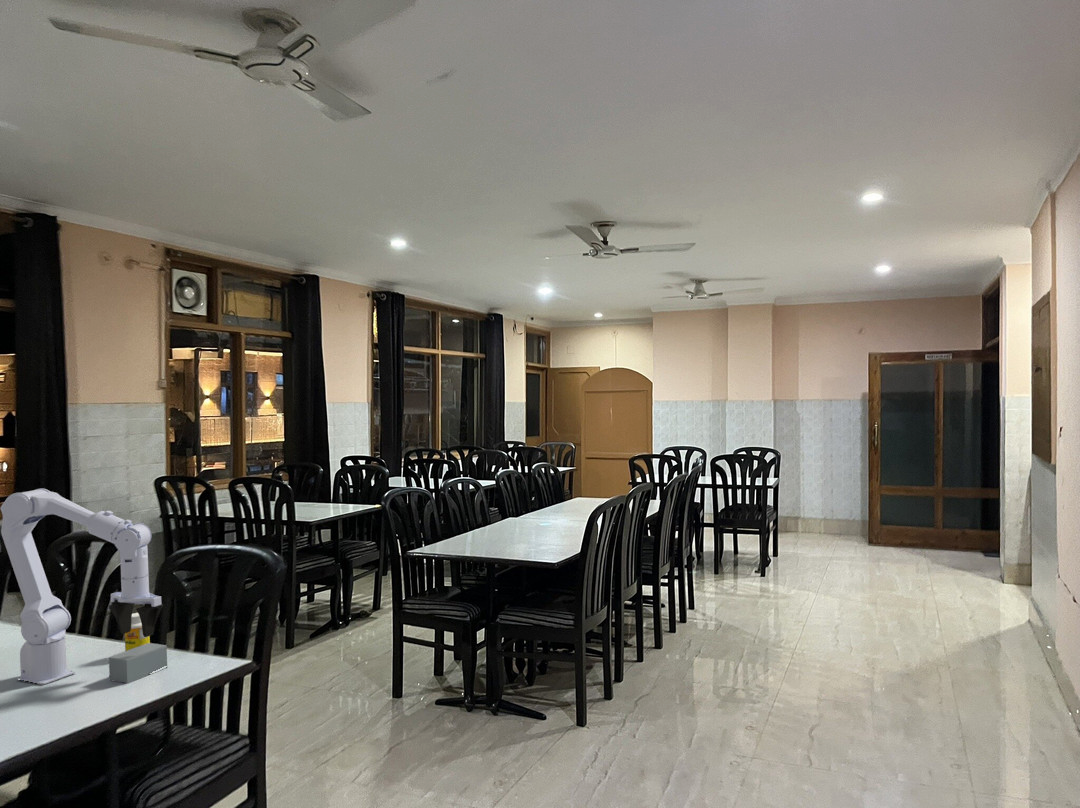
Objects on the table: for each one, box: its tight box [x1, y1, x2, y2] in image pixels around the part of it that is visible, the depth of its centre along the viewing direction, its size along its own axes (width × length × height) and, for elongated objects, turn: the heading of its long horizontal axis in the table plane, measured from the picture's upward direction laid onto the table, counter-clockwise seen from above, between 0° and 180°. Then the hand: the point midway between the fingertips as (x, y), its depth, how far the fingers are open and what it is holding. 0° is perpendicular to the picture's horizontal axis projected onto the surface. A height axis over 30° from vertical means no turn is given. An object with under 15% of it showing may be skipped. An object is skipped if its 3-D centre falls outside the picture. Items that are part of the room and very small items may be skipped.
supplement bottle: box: [124, 612, 151, 652], centre depth 195 cm, size 6×6×10 cm
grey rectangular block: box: [108, 642, 168, 684], centre depth 181 cm, size 6×11×5 cm, turn 156°
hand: (136, 634), depth 181 cm, fingers open, 7 cm apart
